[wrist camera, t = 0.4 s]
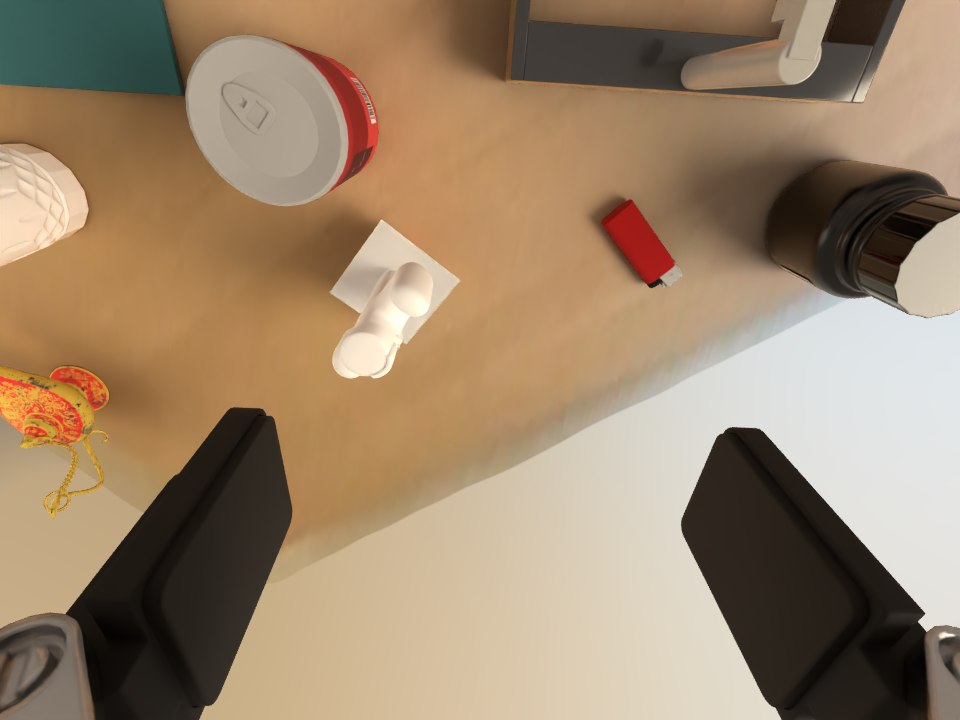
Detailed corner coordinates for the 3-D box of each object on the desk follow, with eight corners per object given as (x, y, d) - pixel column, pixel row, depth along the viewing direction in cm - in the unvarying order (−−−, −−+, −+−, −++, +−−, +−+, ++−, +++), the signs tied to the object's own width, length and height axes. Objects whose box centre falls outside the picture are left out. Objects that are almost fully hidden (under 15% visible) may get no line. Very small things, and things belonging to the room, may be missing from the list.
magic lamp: (-18, 282, 38) (-184, 343, 28) (169, 420, 45) (89, 506, 35) (-58, 326, 39) (-227, 397, 30) (128, 452, 47) (41, 541, 37)
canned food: (285, 29, 30) (199, -5, 20) (398, 95, 32) (368, 93, 22) (255, 143, 33) (169, 160, 23) (359, 196, 35) (319, 232, 25)
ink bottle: (766, 290, 40) (873, 357, 29) (746, 198, 36) (861, 238, 25) (885, 237, 38) (1045, 290, 27) (877, 134, 34) (1062, 148, 23)
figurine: (334, 286, 38) (266, 380, 25) (397, 197, 35) (356, 254, 22) (403, 333, 41) (374, 442, 28) (469, 255, 37) (470, 337, 24)
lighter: (634, 200, 34) (685, 275, 37) (629, 197, 35) (679, 270, 39) (603, 226, 35) (656, 296, 38) (599, 222, 36) (651, 291, 39)
